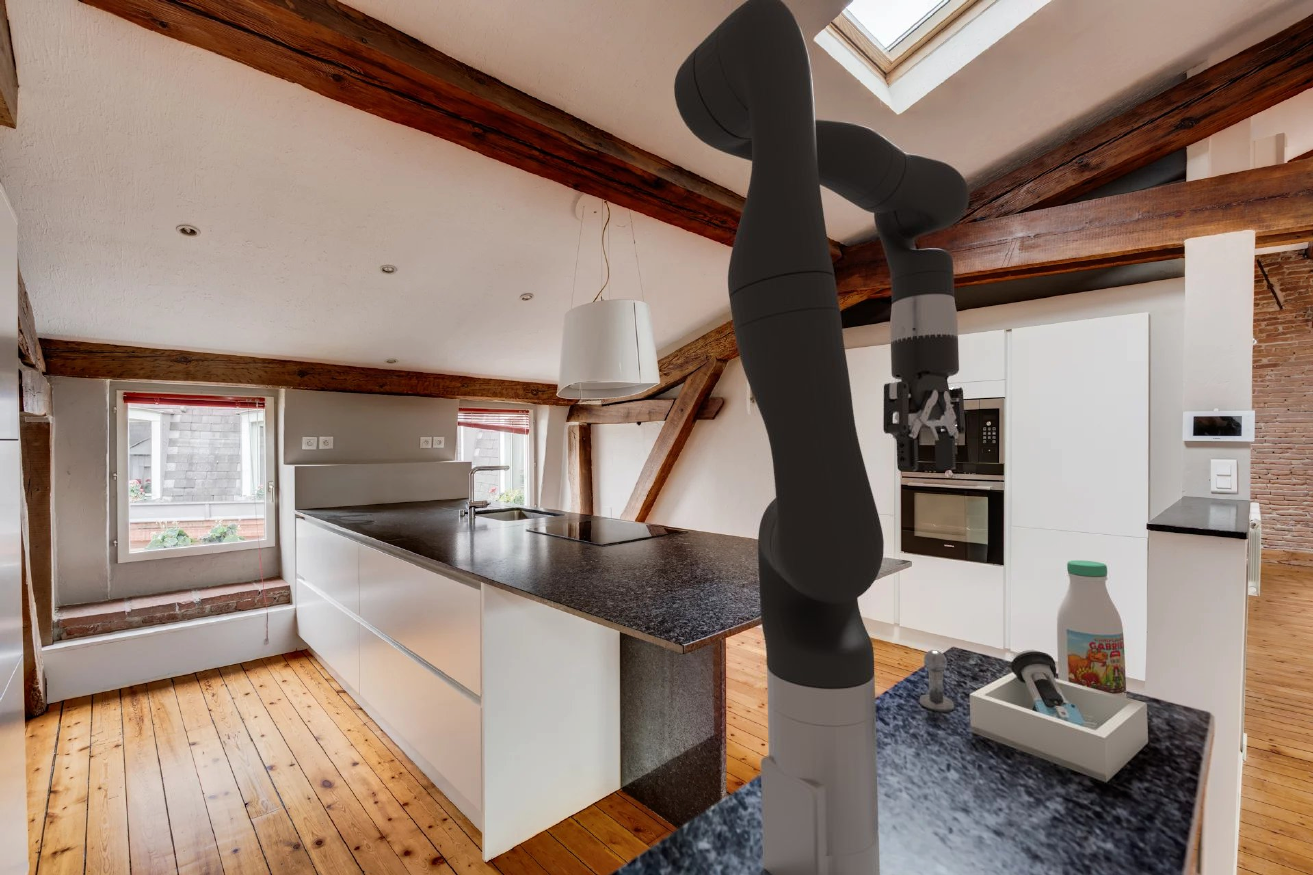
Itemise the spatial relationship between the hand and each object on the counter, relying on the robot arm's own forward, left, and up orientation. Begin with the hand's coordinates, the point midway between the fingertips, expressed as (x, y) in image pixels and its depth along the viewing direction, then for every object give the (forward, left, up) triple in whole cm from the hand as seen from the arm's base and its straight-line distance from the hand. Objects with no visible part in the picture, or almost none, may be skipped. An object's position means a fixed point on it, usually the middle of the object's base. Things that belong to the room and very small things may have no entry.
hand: (927, 470), depth 70 cm
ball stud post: (+13, +7, -34) cm, 37 cm away
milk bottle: (+31, -6, -34) cm, 47 cm away
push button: (+15, -9, -32) cm, 37 cm away
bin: (+16, -7, -34) cm, 38 cm away
